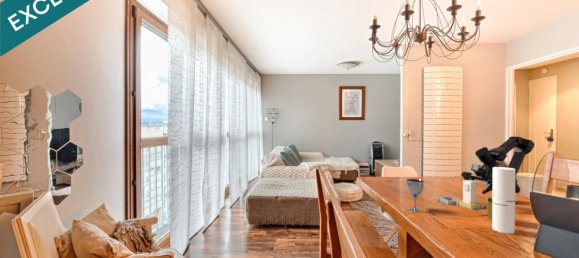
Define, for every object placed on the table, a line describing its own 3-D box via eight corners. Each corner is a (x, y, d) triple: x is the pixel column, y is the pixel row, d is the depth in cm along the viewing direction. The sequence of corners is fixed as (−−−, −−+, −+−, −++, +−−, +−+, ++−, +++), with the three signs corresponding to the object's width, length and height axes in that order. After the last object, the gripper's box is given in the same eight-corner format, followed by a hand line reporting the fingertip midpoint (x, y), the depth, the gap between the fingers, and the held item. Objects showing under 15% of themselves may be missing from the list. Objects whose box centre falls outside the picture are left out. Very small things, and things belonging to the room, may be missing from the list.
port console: (443, 200, 153) (443, 194, 153) (485, 208, 138) (485, 202, 138) (434, 203, 145) (434, 198, 145) (478, 212, 130) (478, 206, 130)
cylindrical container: (519, 234, 104) (519, 170, 104) (498, 232, 106) (498, 169, 105) (508, 227, 111) (508, 167, 111) (488, 226, 113) (489, 166, 112)
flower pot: (511, 226, 113) (511, 204, 113) (486, 221, 118) (486, 201, 118) (510, 220, 120) (510, 200, 120) (486, 216, 125) (486, 197, 125)
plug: (468, 204, 141) (468, 179, 141) (475, 206, 137) (476, 181, 137) (462, 205, 139) (462, 180, 139) (469, 207, 135) (469, 182, 135)
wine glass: (420, 208, 138) (420, 178, 138) (426, 213, 130) (426, 182, 130) (404, 207, 139) (404, 178, 139) (409, 212, 131) (409, 181, 131)
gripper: (463, 157, 150) (449, 178, 146) (500, 160, 132) (485, 185, 128) (473, 170, 153) (459, 191, 149) (510, 175, 135) (495, 199, 131)
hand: (473, 191), depth 139 cm, fingers open, 9 cm apart
